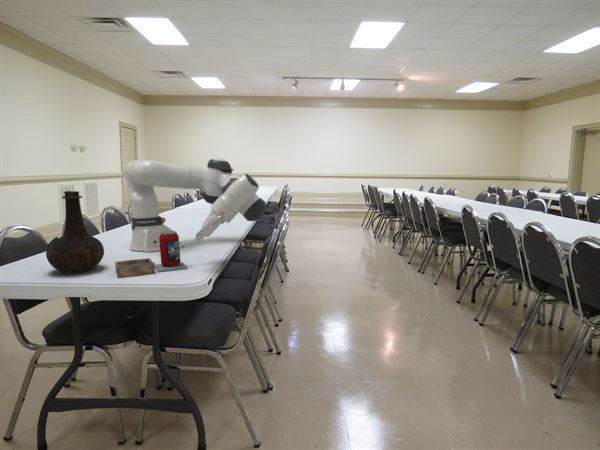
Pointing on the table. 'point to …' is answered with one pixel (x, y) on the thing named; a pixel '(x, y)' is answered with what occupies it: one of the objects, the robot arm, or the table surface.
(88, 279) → the table surface
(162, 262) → the beverage can
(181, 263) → the rubber mat
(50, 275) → the table surface
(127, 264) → the can cradle
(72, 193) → the glass bottle
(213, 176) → the robot arm
